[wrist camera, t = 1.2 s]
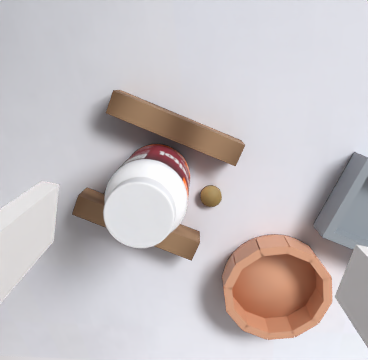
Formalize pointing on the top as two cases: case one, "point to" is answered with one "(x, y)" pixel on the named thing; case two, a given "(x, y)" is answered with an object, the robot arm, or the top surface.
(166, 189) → the pill bottle
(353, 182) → the trough
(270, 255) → the terracotta round dish
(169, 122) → the cradle
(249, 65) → the top surface
